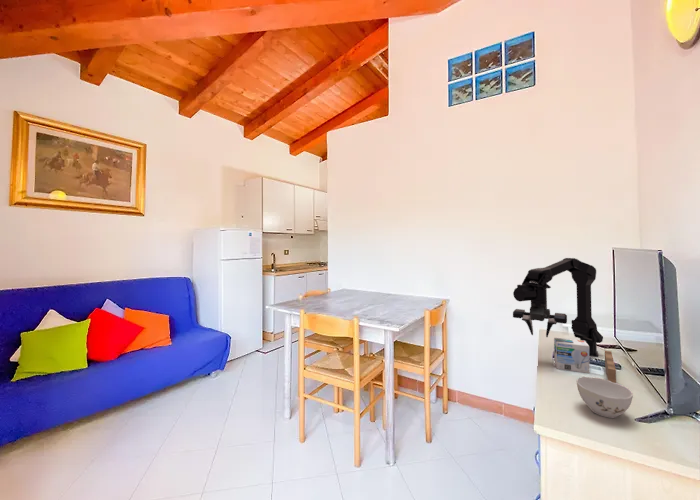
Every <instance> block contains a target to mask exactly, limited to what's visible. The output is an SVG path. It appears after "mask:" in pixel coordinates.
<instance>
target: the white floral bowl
mask: <svg viewBox="0 0 700 500" xmlns="http://www.w3.org/2000/svg"><path fill="white" fill-rule="evenodd" d="M576 387H577V390H578V394H579V395H580V396H579V397H580V398H581V399H582V401H583V402H584V403H585V405H586V406H587V407H588V408H589V409H590V410H591V412H593V413H594V414H596V415H598V416H601V417H603V418H604V417H605V418H608V419H609V418H610V419H615V418H617V417H619V416H621V415H623V414H624V413H626V412H627V411H628V409H629V408H630V406H631V405H632V404H631V403H632V402H633V398H634V393H633V392H632V390H631V389H629V388H628V387H627V386H625V385H622V384H620V383H617V382H616V383H613V382H611V381H609V380H607V379H605V378H601V377H591V376H581V377H578V378H577V379H576Z"/></svg>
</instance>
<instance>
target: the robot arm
mask: <svg viewBox="0 0 700 500" xmlns="http://www.w3.org/2000/svg"><path fill="white" fill-rule="evenodd" d="M566 271H567V272H569V273H570V274H571V279H572V280H573V281H574V283H575V285H576V313H577V314H576V317H575V318H574V319H571V329H572V333H573V336H574V338H578V339H579V340H583V341H586V343H587V344H588V345H589V356H591V357H599V351H598V347H597V346H598V345H597V344H601V343H602V342H603V339H604V335H602V334H601V333H600V332H599V331H598V326H597V323H596V322H595V320H594V319H593V317H592V315H593V314H592V284H593V283H594V282H595V280H596V278H597V268H596V267H595V266H594V265H591V264H589V263H586V262H583V261H581V260H579V259H578V258H574V257H572V258H571V257H565V258H563V259H561V260H559V261H557V262H555V263H552V264H549V265H547V266H545V267H537V268H531V269H529V270H528V272H527V273H526V276H525V277H524V279H523V280H522V283H521V284H517V285H516V287H515V288H514V291H513V293H512V294H513V297H514V299H515V300H516V301H517V302H528V301H530V307H529V312H527V311H526V310H525V309H520V308H516V309H514V310H513V311H512V318H515V319H521V321H524V322H525V324H526V325H527V328H528V330H529V332H530V335H531V336H534V326H533V321H539V322H544V321H545V320H547V322H546V323H547V326H546V332H545V337H546V338H548V337H549V334H550V331H551V329H552V327H553V325H557V324H567V323H568V315H567V314H566V313H560V312H559V313H558V312H555V313H554V314H551V310H550V308H548V295H547V293H548V292H547V289H551V288H552V287H551V285H549V284H548V283H549V282H550V281H552V280H553V278H554V277H555V276H557V275H560V274H562V273H565V272H566Z"/></svg>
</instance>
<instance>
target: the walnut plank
mask: <svg viewBox="0 0 700 500" xmlns="http://www.w3.org/2000/svg"><path fill="white" fill-rule="evenodd" d="M614 361H615V360H614V356H613V353H612V351H609V350H604V367H605V373H606V380H609V381H611V382H613V383H617V369H616V365H615V362H614Z"/></svg>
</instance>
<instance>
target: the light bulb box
mask: <svg viewBox="0 0 700 500" xmlns="http://www.w3.org/2000/svg"><path fill="white" fill-rule="evenodd" d="M553 350H554V351H553V353H554V355H553V357H554V358H553V360H554V361H555V363H554V364H555V368H556V369H557V370H558V369H559V370H563V371H571V372H578V373H583V374H590V355H589V345H588V344H587V343H586V341H583V340H580V339H579V340H578V339H570V338H559V337H554V338H553ZM554 361H553V362H554Z"/></svg>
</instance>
